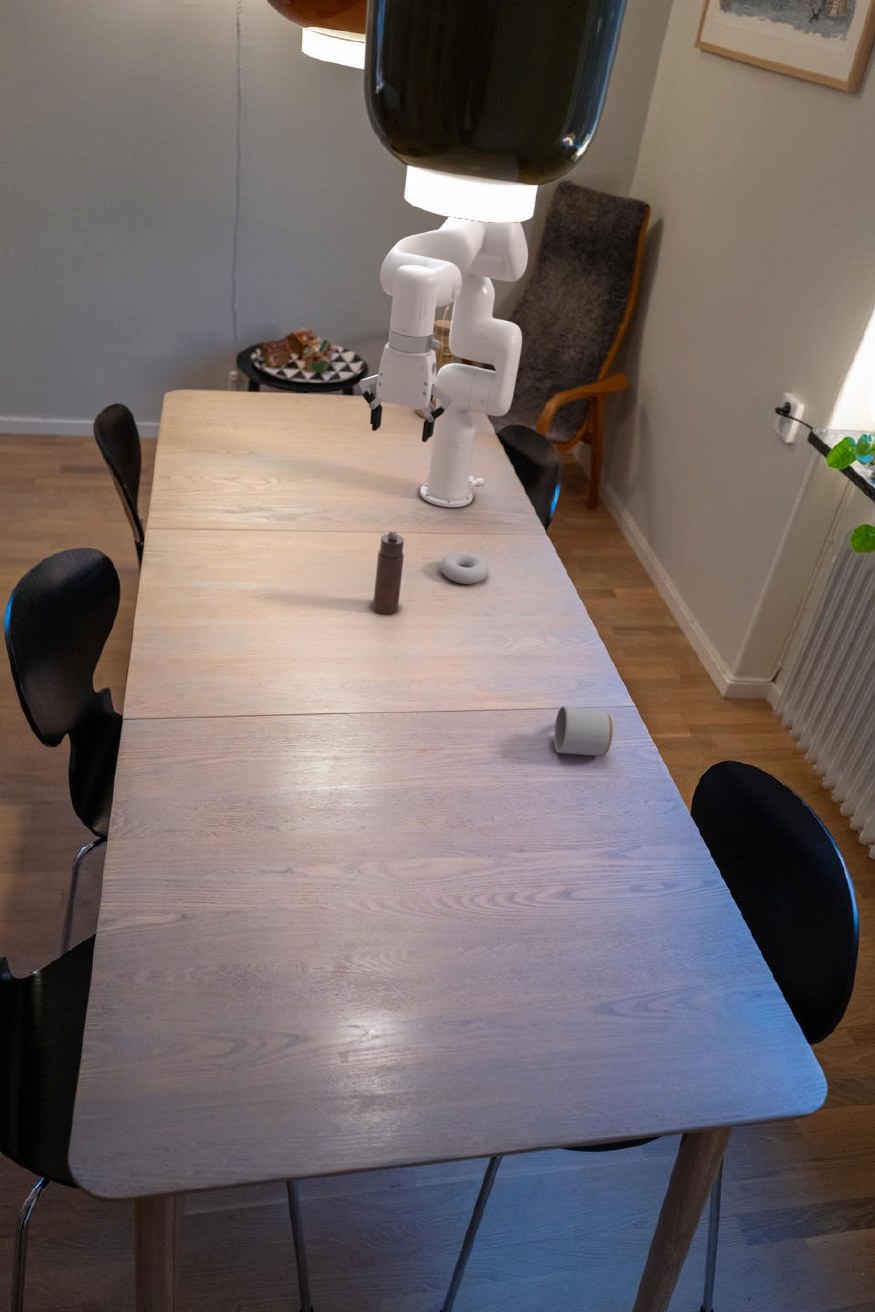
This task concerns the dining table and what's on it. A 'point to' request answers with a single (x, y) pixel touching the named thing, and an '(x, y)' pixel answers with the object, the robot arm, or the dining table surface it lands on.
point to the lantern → (441, 348)
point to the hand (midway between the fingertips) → (400, 433)
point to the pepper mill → (388, 574)
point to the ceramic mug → (582, 731)
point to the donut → (464, 567)
